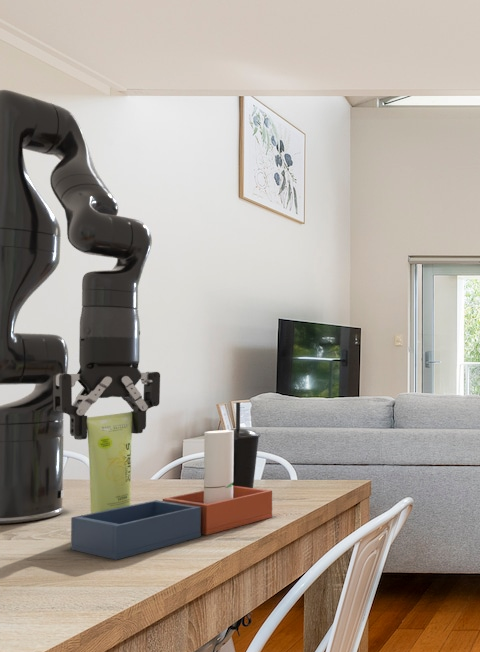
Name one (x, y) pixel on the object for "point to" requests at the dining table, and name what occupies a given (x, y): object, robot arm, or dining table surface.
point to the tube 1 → (110, 461)
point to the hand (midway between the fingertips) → (109, 435)
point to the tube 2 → (218, 465)
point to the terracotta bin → (229, 508)
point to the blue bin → (135, 528)
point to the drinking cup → (244, 454)
